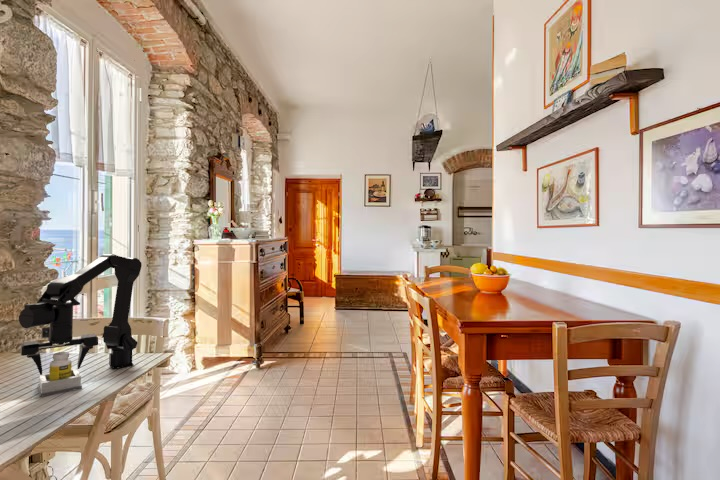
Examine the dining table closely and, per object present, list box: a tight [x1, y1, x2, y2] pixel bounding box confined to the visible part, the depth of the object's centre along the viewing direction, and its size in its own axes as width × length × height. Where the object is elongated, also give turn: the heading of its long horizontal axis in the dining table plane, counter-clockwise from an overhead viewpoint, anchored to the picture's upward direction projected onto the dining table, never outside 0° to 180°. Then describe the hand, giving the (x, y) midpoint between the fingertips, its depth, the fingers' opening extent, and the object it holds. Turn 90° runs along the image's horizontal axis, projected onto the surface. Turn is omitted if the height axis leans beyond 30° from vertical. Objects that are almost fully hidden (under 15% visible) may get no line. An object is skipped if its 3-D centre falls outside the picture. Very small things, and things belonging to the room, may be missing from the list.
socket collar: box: [37, 367, 83, 398], centre depth 120 cm, size 10×10×4 cm
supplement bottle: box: [48, 351, 72, 381], centre depth 120 cm, size 5×5×10 cm
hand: (60, 371), depth 120 cm, fingers open, 9 cm apart
